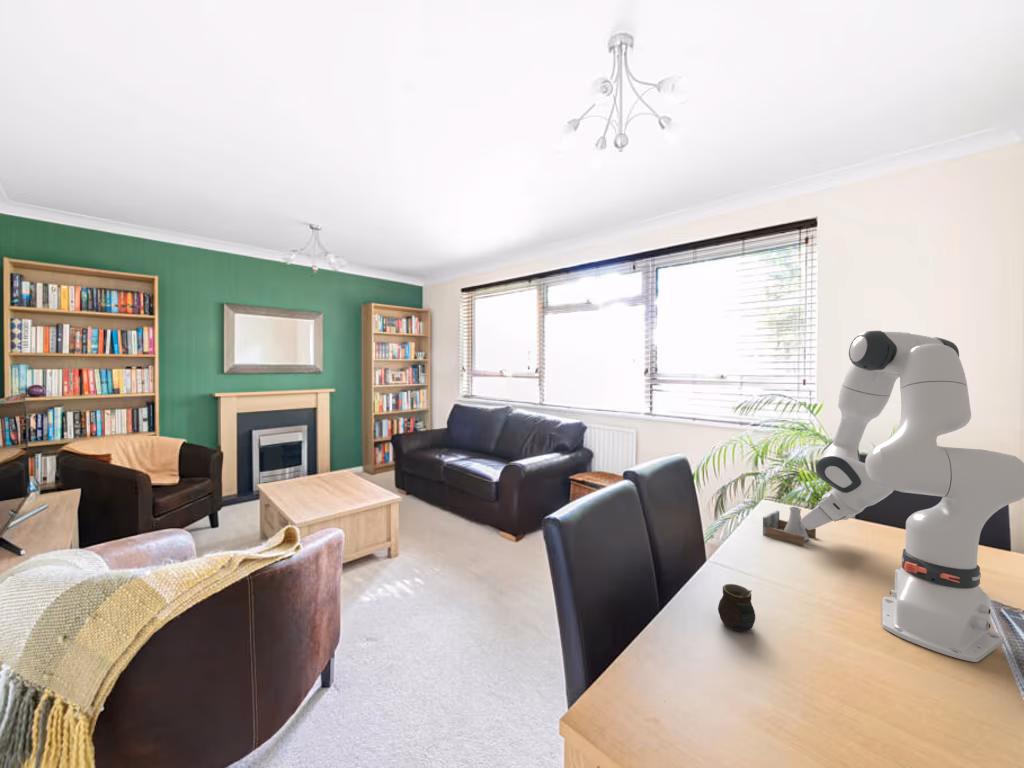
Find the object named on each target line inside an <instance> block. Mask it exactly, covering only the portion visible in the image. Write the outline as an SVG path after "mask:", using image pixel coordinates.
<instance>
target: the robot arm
mask: <svg viewBox="0 0 1024 768" xmlns="http://www.w3.org/2000/svg"><path fill="white" fill-rule="evenodd" d="M848 357H849V360H850V362H851V363H852V364H851V365H850V367H849V368H848V371H847V372H846V375H845V377H844V379H843V382H842V385H841V388H840V391H839V395H838V403H837V404H838V405H837V407H838V409H839V410H840V414H841V418H840V422H839V425H838V428H837V431H836V433H835V436H834V438H833V440H832V441H831V442H830V443H829V444H828V445H826V446H825V447H824V448H823V449H822V452H821V454H820V457H819V459H818V461H817V462H816V466H815V471H816V473H817V475H818V477H819V478H820V479H821V480H822V481H823V482H825V483H826V484H828V485H829V486H831V488H832V489H831V490H829V491H827V492H826V493H824V494H823V495H822V497H821V500H819V501H818V503H817V505H816V506H815V507H814V508H813V509H812V510H810V511H809V512H808V513H806V514H805V515H804V516H802V517H801V520H800V522H801V524H800V526H801V528H802V529H806V528H807V529H808V530H812V529H817V528H820V527H821V526H824V525H827V524H829V523H831V522H838V521H844V520H845V521H848V520H849V519H851V518H853V517H855V516H857V515H858V514H860V513H862V512H863V511H864V510H865V509H866V508H867V507H871V506H874V505H876V504H878V503H879V502H880V501H882V500H884V499H886V498H887V497H888V496H890V495H891V494H892V493H893V492H894V491H897V492H900V493H908V494H915V495H925V496H926V495H927V496H934V497H941V499H940V501H939V502H938V503H937V504H935V505H934V506H932V507H929V508H926V509H921V510H918V511H915V512H913V513H911V514H910V516H908V518H907V519H906V521H905V548H904V549H903V550H902V554H901V568H897V569H895V570H894V573H895V574H894V589H890V590H889V591H890V592H889V594H890V596H891V597H890V596H883V597H882V599H881V626H882V628H883V629H885V630H886V631H888V632H890V633H891V634H893V635H895V636H896V637H899V638H901V639H904V640H905V641H908V642H910V643H913V644H914V645H915V644H916V645H918V646H920V647H923V648H926V649H928V650H930V651H934V652H936V653H940V654H943V655H945V656H948V657H952V658H955V659H958V660H963V661H967V662H973V663H978V662H979V661H982V660H983V659H984V658H985V657H986V656H989V654H991V653H992V652H994V651H995V650H996V649H998V647H1000V646H1002V645H1003V644H1004V643H1005V637H1004V636H1003V635H1002V634H1001V633H999V632H998V631H996V630H994V629H993V628H991V625H992V623H991V621H992V620H991V614H992V613H991V612H992V609H991V597H990V596H989V595H988V594H987V593H986V592H985V591H984V590H983V589H982V588H981V587H980V584H981V577H982V573H981V568H980V566H979V565H978V552H979V544H980V543H979V542H980V537H981V532H982V530H983V528H984V525H985V524H986V522H988V520H989V519H990V518H991V517H992V516H993V515H994V514H995V513H997V512H998V511H999V510H1001V509H1002V508H1004V507H1006V506H1008V505H1011V504H1013V503H1015V502H1018V501H1021V500H1023V499H1024V461H1023V460H1022V459H1020V458H1019V457H1017V456H1015V455H1011V454H1008V453H1002V452H998V451H993V450H987V449H978V448H977V449H976V448H965V447H950V446H949V447H948V446H940V445H938V444H937V439H938V436H942V435H945V434H949V433H953V432H955V431H958V430H960V429H962V428H964V427H965V426H967V424H969V422H970V421H971V418H972V412H971V404H970V397H969V396H970V395H969V394H970V393H969V387H968V382H967V378H966V373H965V370H964V367H963V363H962V361H961V359H960V351H959V348H958V346H957V345H956V344H955V343H954V342H953V341H950V340H948V339H944V338H941V337H937V336H934V337H932V336H931V337H930V336H926V335H923V334H922V335H920V334H913V333H910V332H902V331H881V330H867V331H863V332H860V333H859V334H858V335H856V337H854V339H853V340H852V341H851V343H850V345H849V349H848ZM897 379H899V385H900V387H899V388H900V405H901V406H900V407H901V408H900V420H899V424H898V426H897V428H896V430H895V432H894V433H893V434H892V435H891V436H890V437H889V438H888V439H886V440H885V441H883V442H882V443H880V444H878V445H876V446H875V447H873V448H872V449H871V450H870V451H869V452H868V454H866V457H865V459H864V461H865V462H863V461H861V455H860V450H859V446H860V443H861V440H862V438H863V435H864V433H865V430H866V428H867V426H868V424H869V423H870V422H871V421H872V420H873V419H876V418H877V417H879V416H880V415H881V413H882V411H883V410H884V409H885V408H886V406H887V404H888V401H889V399H890V397H891V395H892V391H893V390H894V389H893V388H894V386H895V384H896V383H895V382H897Z"/></svg>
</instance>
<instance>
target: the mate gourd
mask: <svg viewBox="0 0 1024 768" xmlns="http://www.w3.org/2000/svg"><path fill="white" fill-rule="evenodd" d="M752 591H753V590H749V589H748V588H746V587H744V586H742V585H738V584H734V583H729V584H728V583H727V584H724V585H723V586H722V597H721V598H720V600H719V603H718V606H717V611H718V615H719V618H720V620H721V622H722V623H723V624H724V625H725V626H726V627H727V628H729V629H730V630H732V631H734V632H735V631H736V632H739V633H743V632H747V631H750V630H751V629H752V628H753V627H754V624H755V622H756V612H755V608H754V607H753V604H752V596H753V595H752Z"/></svg>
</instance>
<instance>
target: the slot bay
mask: <svg viewBox="0 0 1024 768" xmlns="http://www.w3.org/2000/svg"><path fill="white" fill-rule="evenodd" d="M787 522H788V520H787V521H786V520H783V519H780V510H776V511H775V510H774V511H773V512H771V513H769V514H767V515H765V516H763V517H762V536H765V537H770V538H774V539H776V540H781V541H784V542H788V543H789V544H790V543H791V544H794V545H798V546H802V547H804V543H805V541H804V536H801V535H797V534H794V533H790V532H786V531H784V529H785V527H786V525H787ZM805 530H806V533H807V535H808V538H814V539H816V537H817V536H816V534H817V528H815V529H812V530H808V529H807V528H806V529H805Z"/></svg>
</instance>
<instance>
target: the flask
mask: <svg viewBox="0 0 1024 768" xmlns="http://www.w3.org/2000/svg"><path fill="white" fill-rule="evenodd" d="M789 510H790V514H789V518H788V520H787V525H786V527H785V529H784V530H783V531H786V532H790V533H794V534H797V535H801V536H804V542H805V541H808V540H809V538H810V537H809V536H808V535H807V533H806V530H805V529H802V528H801V526H800V524H801V522H800V520H801V519H802V516H801V511H802V508H800V507H798V506H790V507H789Z"/></svg>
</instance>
